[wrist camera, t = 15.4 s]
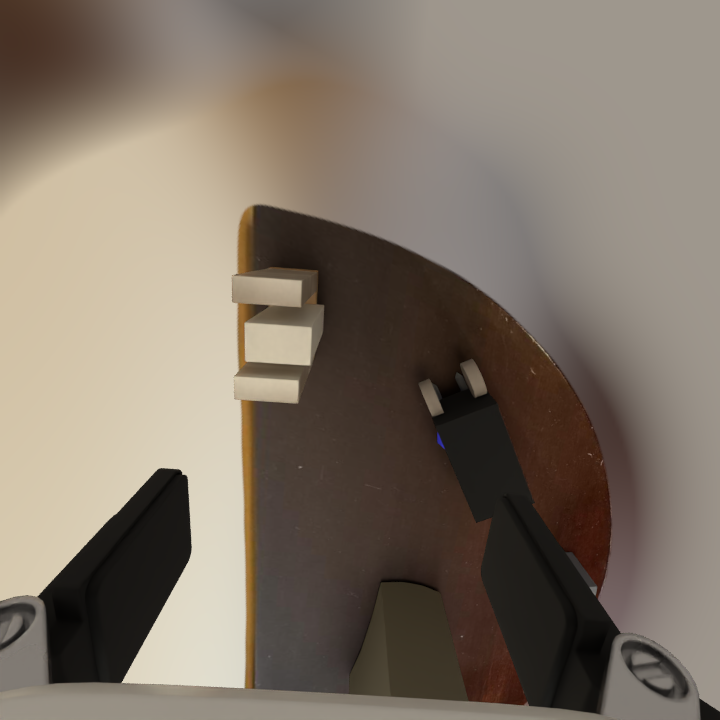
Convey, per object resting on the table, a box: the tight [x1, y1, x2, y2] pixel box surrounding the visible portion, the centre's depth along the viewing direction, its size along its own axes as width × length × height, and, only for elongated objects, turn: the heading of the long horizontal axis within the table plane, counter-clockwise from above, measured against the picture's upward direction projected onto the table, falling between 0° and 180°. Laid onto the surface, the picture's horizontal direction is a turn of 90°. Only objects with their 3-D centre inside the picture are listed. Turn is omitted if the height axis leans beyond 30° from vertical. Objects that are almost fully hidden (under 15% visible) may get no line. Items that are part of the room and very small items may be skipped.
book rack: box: [232, 267, 318, 403], centre depth 31 cm, size 9×5×12 cm, turn 176°
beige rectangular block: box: [245, 304, 324, 366], centre depth 31 cm, size 3×5×11 cm, turn 85°
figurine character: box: [418, 359, 535, 523], centre depth 37 cm, size 7×8×15 cm
